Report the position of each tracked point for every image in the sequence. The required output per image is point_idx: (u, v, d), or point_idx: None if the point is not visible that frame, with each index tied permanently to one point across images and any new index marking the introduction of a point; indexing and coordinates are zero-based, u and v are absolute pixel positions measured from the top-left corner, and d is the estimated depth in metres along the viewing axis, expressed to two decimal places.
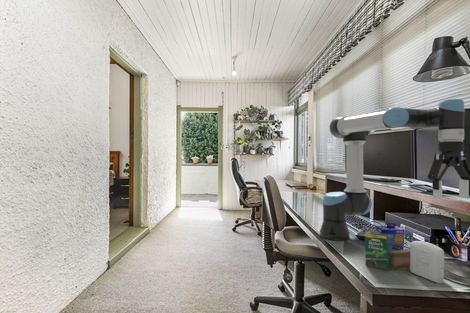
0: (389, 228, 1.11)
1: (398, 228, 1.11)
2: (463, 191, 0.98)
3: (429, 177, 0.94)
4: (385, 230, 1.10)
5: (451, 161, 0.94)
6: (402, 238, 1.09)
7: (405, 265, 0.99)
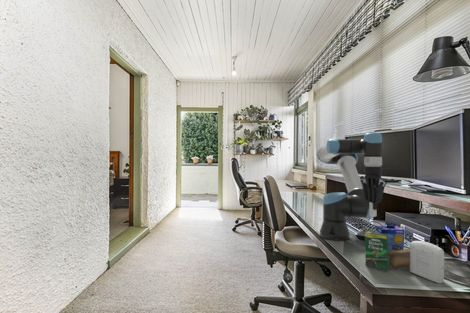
0: (389, 228, 1.11)
1: (398, 228, 1.11)
2: None
3: None
4: (385, 230, 1.10)
5: (367, 182, 1.21)
6: (402, 238, 1.09)
7: (405, 265, 0.99)
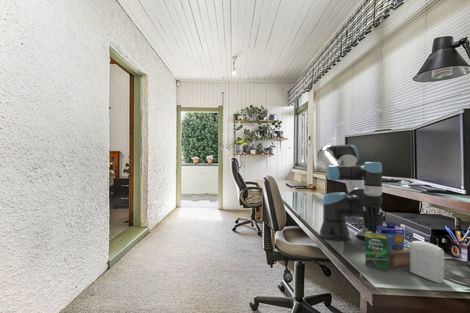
0: (389, 228, 1.11)
1: (398, 228, 1.11)
2: None
3: None
4: (385, 230, 1.10)
5: (367, 211, 1.22)
6: (402, 238, 1.09)
7: (405, 265, 0.99)
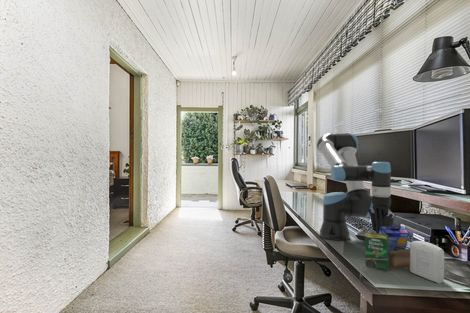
0: (394, 231, 1.07)
1: (403, 230, 1.08)
2: None
3: None
4: (389, 233, 1.07)
5: (375, 213, 1.17)
6: (405, 240, 1.07)
7: (405, 265, 0.99)
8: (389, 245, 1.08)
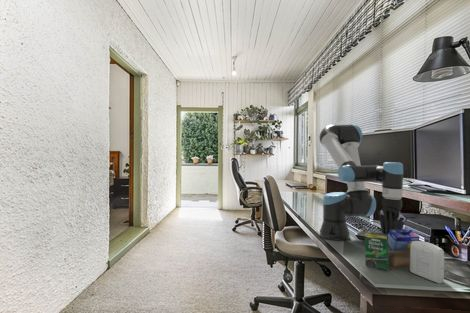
0: (404, 235, 1.03)
1: (413, 234, 1.04)
2: None
3: None
4: (400, 238, 1.02)
5: (385, 215, 1.12)
6: None
7: (405, 265, 0.99)
8: (399, 249, 1.04)
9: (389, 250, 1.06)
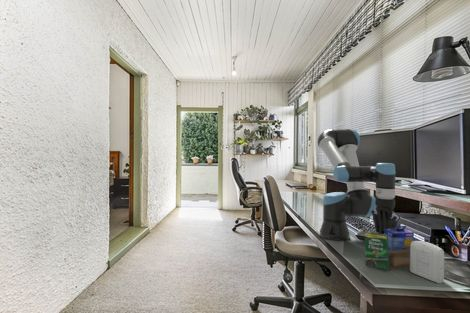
0: (399, 231, 1.06)
1: (407, 231, 1.07)
2: None
3: None
4: (396, 234, 1.04)
5: (379, 215, 1.15)
6: (411, 241, 1.06)
7: (405, 265, 0.99)
8: (397, 247, 1.05)
9: (388, 250, 1.07)
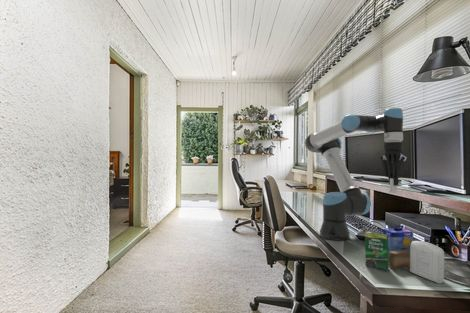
0: (397, 231, 1.07)
1: (405, 230, 1.08)
2: None
3: None
4: (394, 233, 1.05)
5: (388, 158, 1.21)
6: (410, 240, 1.06)
7: (405, 265, 0.99)
8: (396, 247, 1.05)
9: None
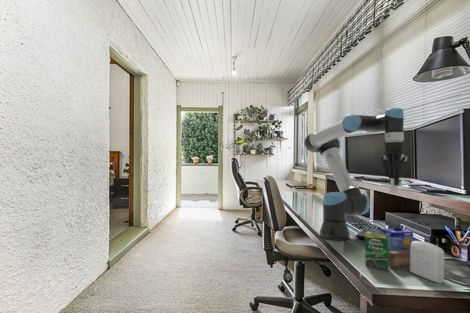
0: (397, 231, 1.07)
1: (405, 230, 1.08)
2: None
3: None
4: (394, 233, 1.05)
5: (388, 158, 1.21)
6: (410, 240, 1.06)
7: (405, 265, 0.99)
8: (396, 247, 1.05)
9: None
